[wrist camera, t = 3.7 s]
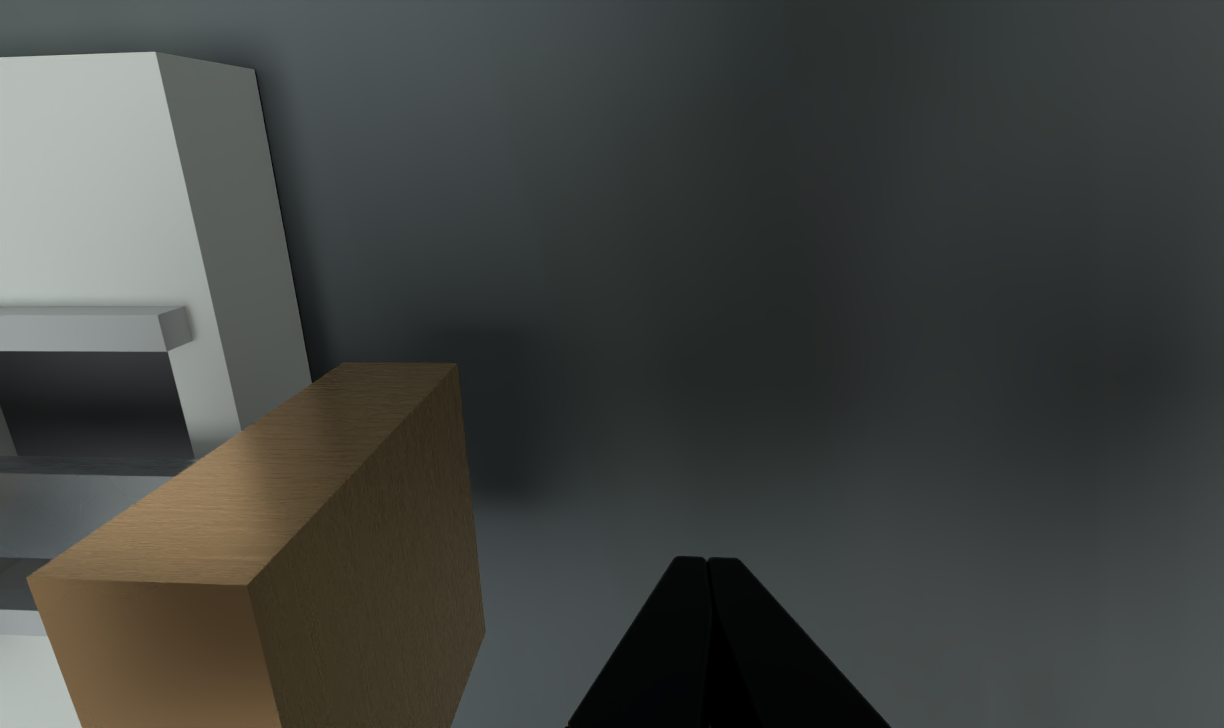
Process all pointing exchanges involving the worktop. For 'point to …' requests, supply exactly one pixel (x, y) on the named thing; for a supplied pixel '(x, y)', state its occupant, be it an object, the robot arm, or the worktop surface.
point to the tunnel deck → (131, 288)
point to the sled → (266, 565)
